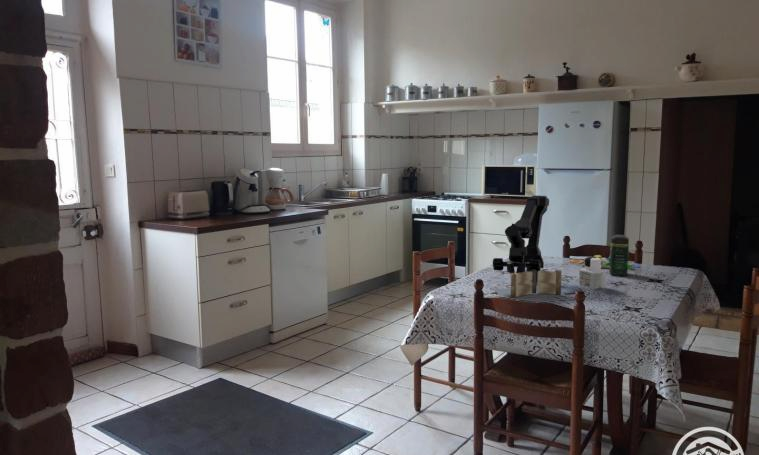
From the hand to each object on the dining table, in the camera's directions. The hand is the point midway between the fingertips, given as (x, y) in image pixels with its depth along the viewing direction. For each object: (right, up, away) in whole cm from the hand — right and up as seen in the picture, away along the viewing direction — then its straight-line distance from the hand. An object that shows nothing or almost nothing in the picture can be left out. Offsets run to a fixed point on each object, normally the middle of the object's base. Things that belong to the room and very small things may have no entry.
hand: (514, 282), depth 233 cm
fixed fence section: (+14, -5, +2) cm, 15 cm away
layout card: (+7, -5, +6) cm, 10 cm away
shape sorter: (+59, +2, +61) cm, 84 cm away
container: (+36, -4, +14) cm, 39 cm away
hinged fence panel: (+4, -5, +1) cm, 6 cm away
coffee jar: (+57, 0, +38) cm, 69 cm away
